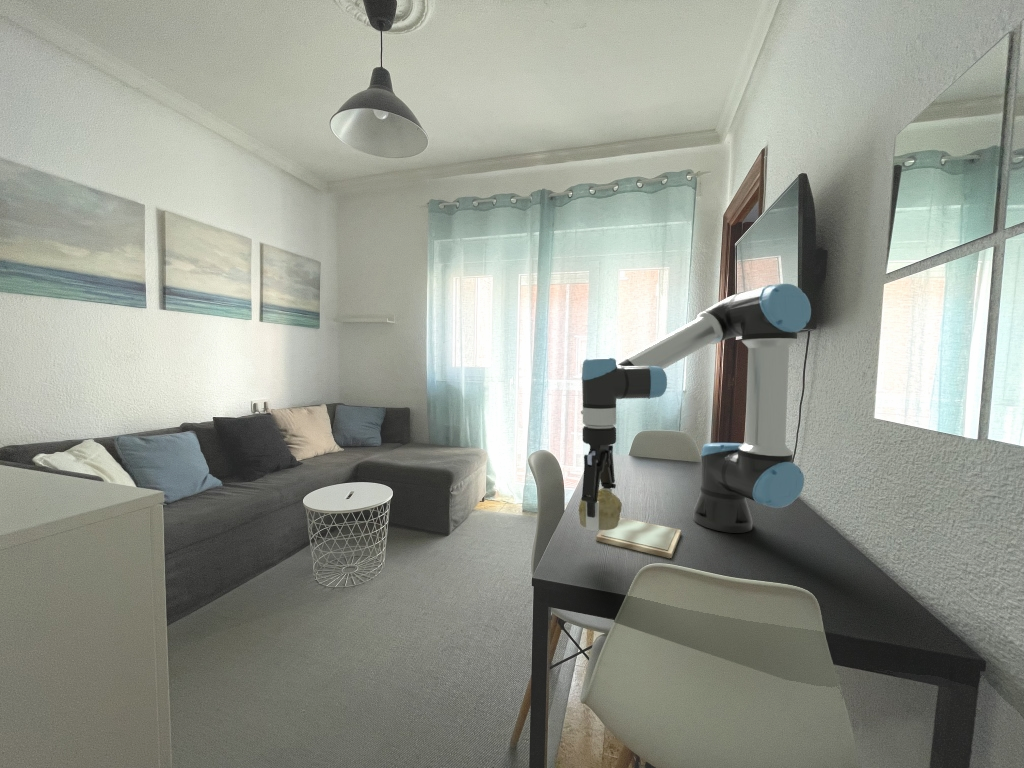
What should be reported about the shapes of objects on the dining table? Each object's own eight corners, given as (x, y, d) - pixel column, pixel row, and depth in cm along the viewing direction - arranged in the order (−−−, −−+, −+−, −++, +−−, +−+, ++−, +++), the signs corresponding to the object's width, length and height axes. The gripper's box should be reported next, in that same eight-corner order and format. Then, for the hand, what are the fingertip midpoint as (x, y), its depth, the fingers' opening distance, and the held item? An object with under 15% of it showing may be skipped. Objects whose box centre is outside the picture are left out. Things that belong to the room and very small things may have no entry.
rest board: (680, 534, 107) (680, 529, 107) (671, 558, 93) (671, 552, 93) (613, 520, 116) (613, 515, 116) (596, 540, 102) (596, 535, 102)
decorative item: (582, 544, 90) (596, 519, 84) (567, 506, 97) (579, 481, 91) (619, 538, 93) (635, 514, 87) (602, 502, 100) (615, 477, 94)
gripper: (598, 418, 103) (598, 504, 104) (565, 431, 84) (566, 537, 85) (627, 420, 99) (627, 509, 100) (600, 434, 80) (600, 544, 81)
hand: (599, 522), depth 92 cm, fingers closed on decorative item, 9 cm apart
